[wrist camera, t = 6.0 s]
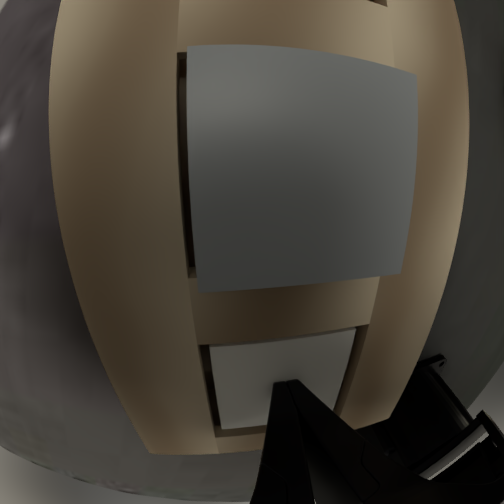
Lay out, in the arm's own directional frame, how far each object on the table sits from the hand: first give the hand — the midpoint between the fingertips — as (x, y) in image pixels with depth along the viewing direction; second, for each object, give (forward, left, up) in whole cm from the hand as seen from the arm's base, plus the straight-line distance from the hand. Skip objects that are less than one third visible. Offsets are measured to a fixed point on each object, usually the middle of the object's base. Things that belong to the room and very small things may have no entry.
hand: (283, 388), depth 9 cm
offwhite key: (0, 0, -2) cm, 2 cm away
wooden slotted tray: (0, -7, -4) cm, 8 cm away
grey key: (0, -7, -1) cm, 7 cm away
